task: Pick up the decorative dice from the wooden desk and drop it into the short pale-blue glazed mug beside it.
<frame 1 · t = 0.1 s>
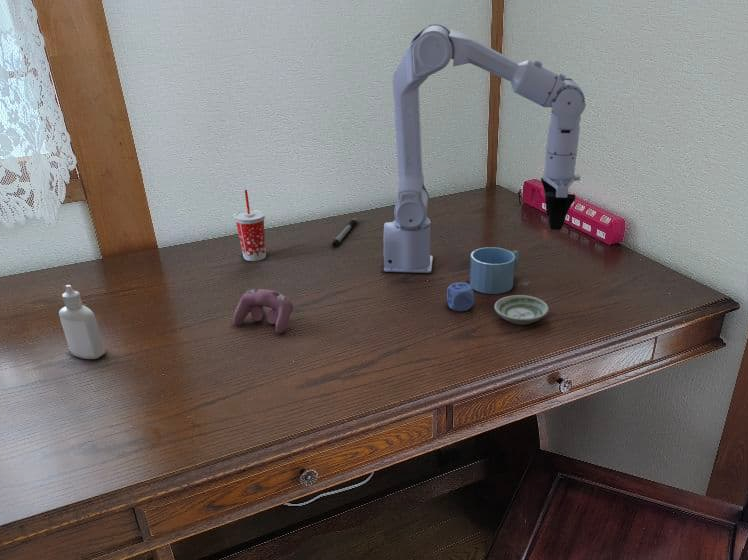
hand: (553, 222, 144), 10 cm above the table, tool pointing down, fingers open, 7 cm apart
beverage cup: (254, 257, 152), on the table
video game controller: (265, 324, 128), on the table
decorative dice: (459, 307, 135), on the table
mug: (491, 284, 143), on the table
eye dropper bottle: (88, 354, 119), on the table
pen: (345, 234, 164), on the table
saucer: (520, 319, 132), on the table
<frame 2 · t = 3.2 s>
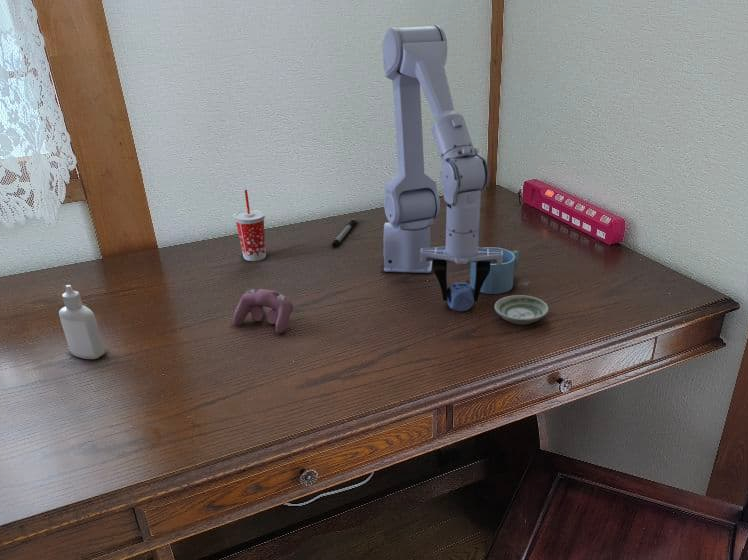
hand: (460, 298, 134), 2 cm above the table, tool pointing down, fingers closed on decorative dice, 5 cm apart
decorative dice: (460, 307, 135), on the table, touching gripper
everything else where it was.
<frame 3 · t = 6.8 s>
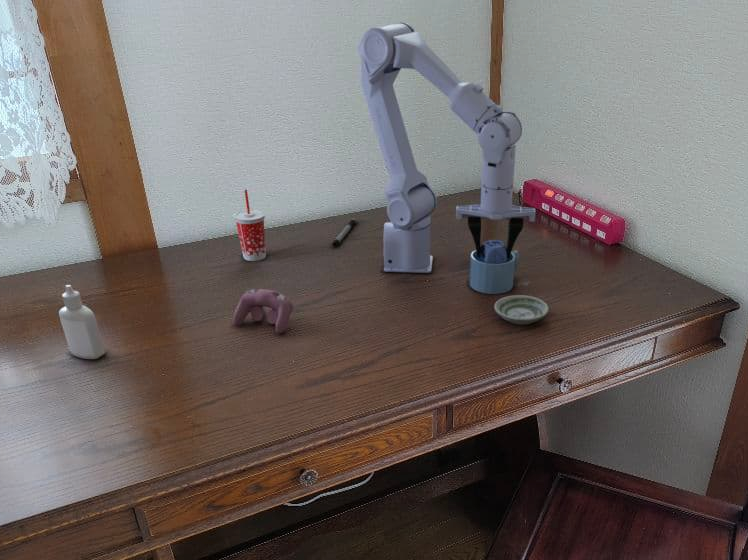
hand: (493, 255, 140), 6 cm above the table, tool pointing down, fingers closed on decorative dice, 5 cm apart
decorative dice: (492, 264, 141), point 4 cm above the table, touching gripper
everything else where it was.
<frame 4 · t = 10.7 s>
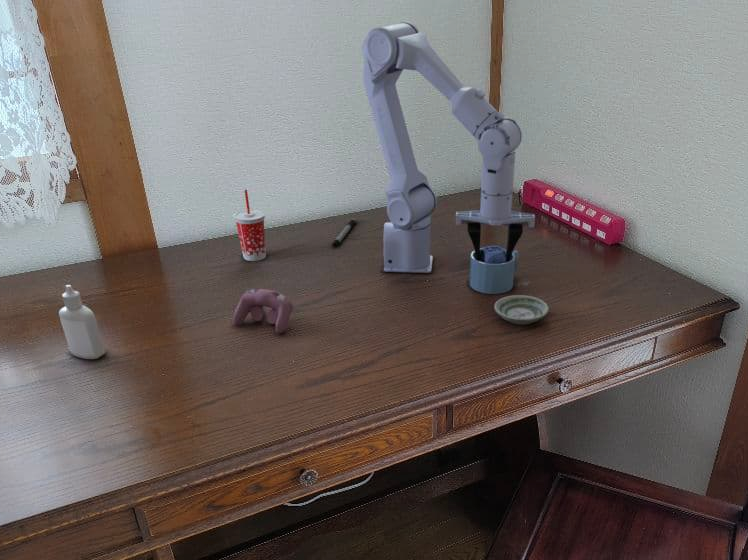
hand: (492, 261, 140), 5 cm above the table, tool pointing down, fingers closed on decorative dice, 5 cm apart
decorative dice: (492, 269, 141), point 3 cm above the table, touching gripper
everything else where it was.
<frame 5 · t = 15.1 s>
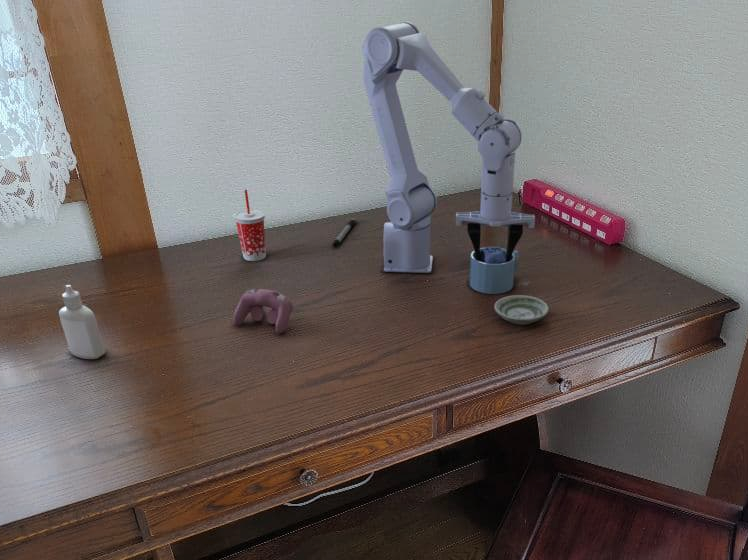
hand: (492, 261, 141), 5 cm above the table, tool pointing down, fingers closed on decorative dice, 5 cm apart
decorative dice: (492, 270, 142), point 3 cm above the table, touching gripper
everything else where it was.
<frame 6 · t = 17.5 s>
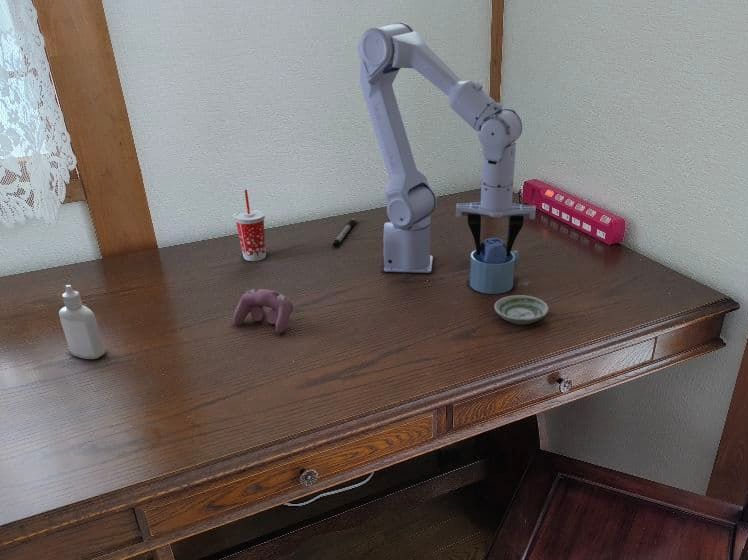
hand: (493, 253, 140), 6 cm above the table, tool pointing down, fingers closed on decorative dice, 5 cm apart
decorative dice: (492, 262, 141), point 5 cm above the table, touching gripper
everything else where it was.
when the fingers open (7 cm above the table, at t = 19.1 s): decorative dice drops 4 cm, resting on mug.
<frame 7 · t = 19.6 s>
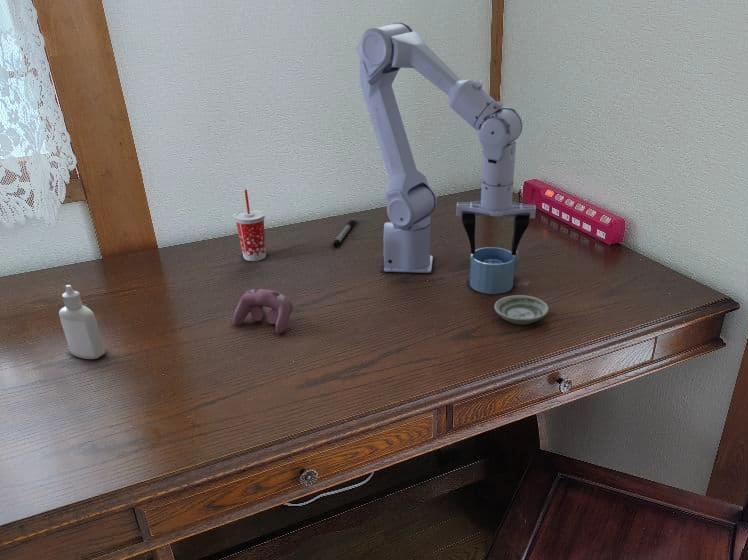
hand: (493, 252, 139), 7 cm above the table, tool pointing down, fingers open, 7 cm apart
decorative dice: (491, 283, 143), resting on mug
mug: (491, 284, 143), on the table, touching decorative dice
everything else where it was.
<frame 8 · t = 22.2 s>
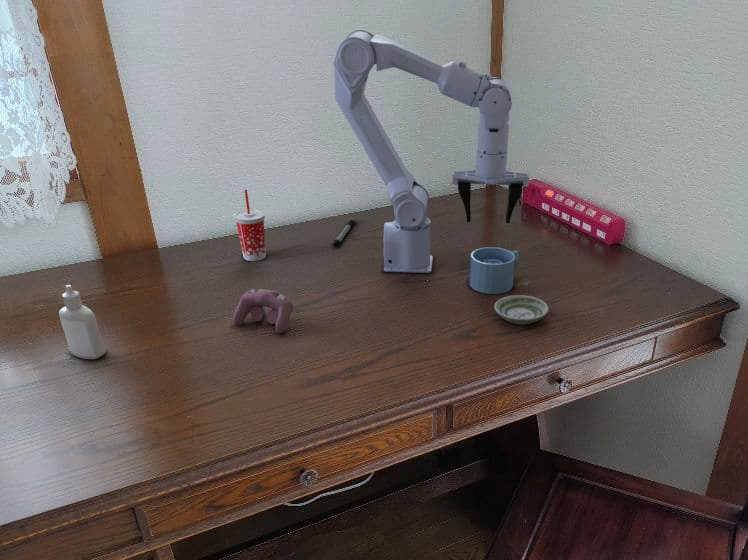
hand: (488, 220, 144), 10 cm above the table, tool pointing down, fingers open, 7 cm apart
nothing on the table moved.
at the end: decorative dice 0.1 cm off-centre in the mug, point 0.3 cm above the mug's base; the gripper is holding nothing; mug tilted 0° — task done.
